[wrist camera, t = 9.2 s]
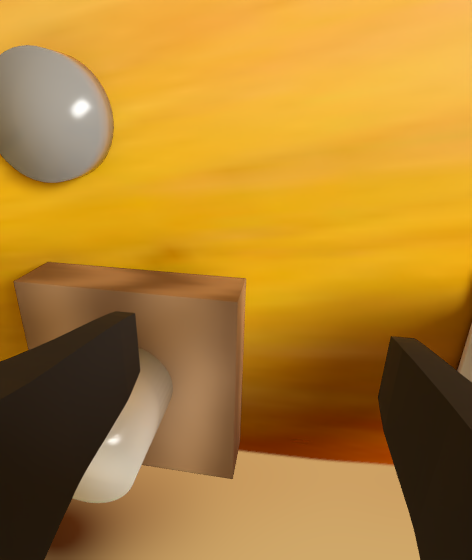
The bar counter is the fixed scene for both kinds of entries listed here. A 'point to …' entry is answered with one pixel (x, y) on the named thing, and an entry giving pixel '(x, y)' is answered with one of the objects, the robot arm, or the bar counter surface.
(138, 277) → the walnut block
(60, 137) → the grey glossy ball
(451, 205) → the bar counter surface
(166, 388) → the cream glossy cylinder
